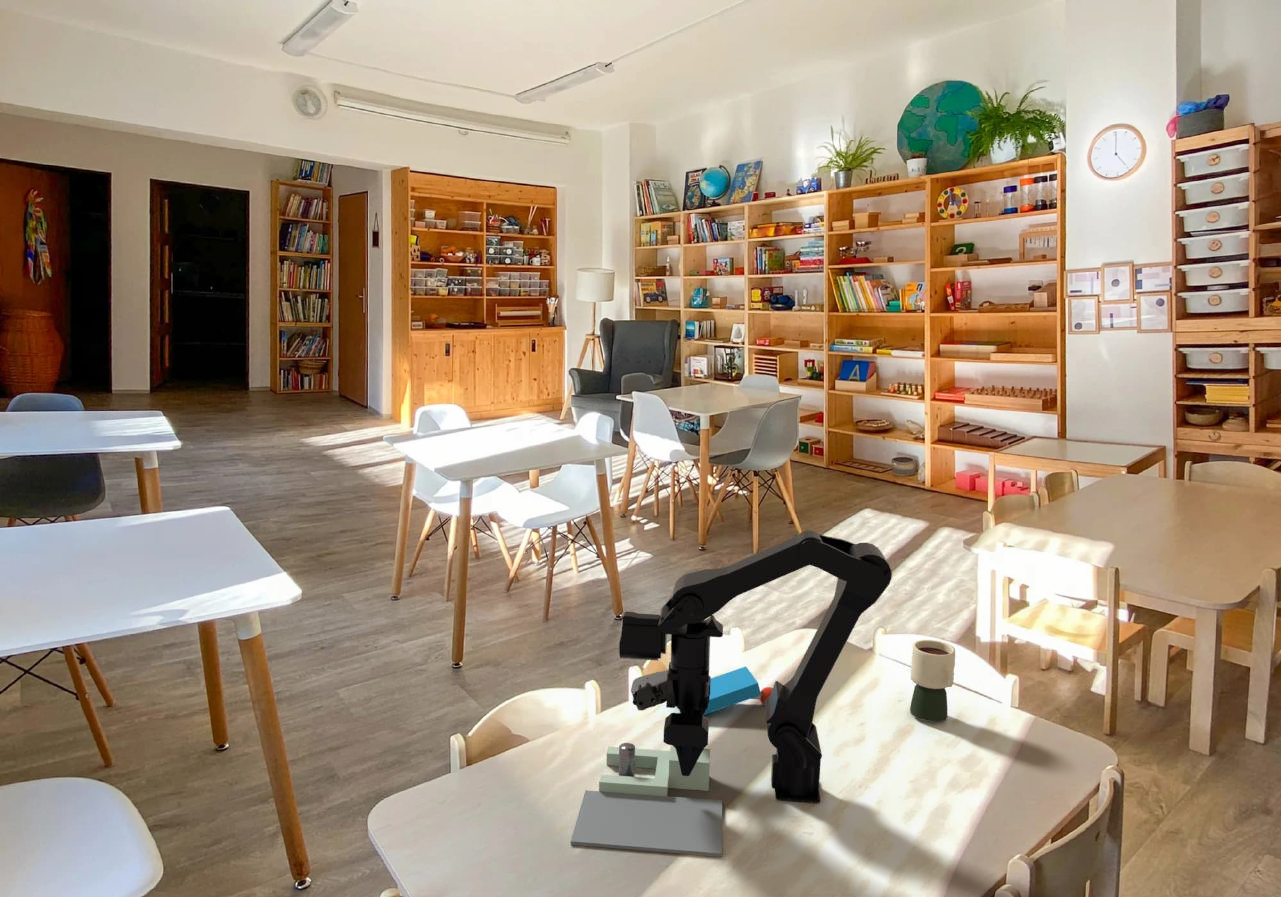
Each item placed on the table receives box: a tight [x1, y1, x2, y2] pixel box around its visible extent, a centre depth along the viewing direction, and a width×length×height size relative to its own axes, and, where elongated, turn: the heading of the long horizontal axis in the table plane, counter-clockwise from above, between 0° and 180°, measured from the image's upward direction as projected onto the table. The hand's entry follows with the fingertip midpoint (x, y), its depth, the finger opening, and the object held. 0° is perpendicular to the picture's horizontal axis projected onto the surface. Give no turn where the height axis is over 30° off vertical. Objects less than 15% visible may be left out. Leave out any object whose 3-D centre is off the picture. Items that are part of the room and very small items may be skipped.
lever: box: [678, 666, 773, 716], centre depth 153 cm, size 7×7×18 cm
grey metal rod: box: [618, 742, 636, 777], centre depth 130 cm, size 2×2×5 cm
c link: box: [598, 745, 711, 796], centre depth 129 cm, size 16×10×4 cm, turn 84°
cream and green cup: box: [909, 639, 956, 722], centre depth 150 cm, size 11×7×13 cm, turn 17°
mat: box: [570, 789, 723, 858], centre depth 119 cm, size 20×12×1 cm, turn 84°
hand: (687, 758), depth 129 cm, fingers open, 9 cm apart
